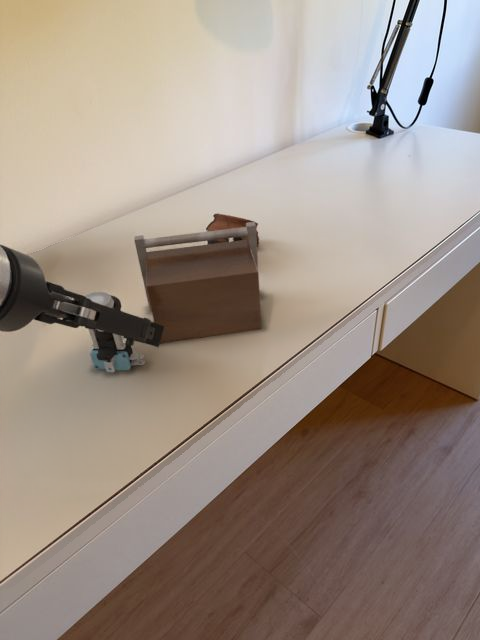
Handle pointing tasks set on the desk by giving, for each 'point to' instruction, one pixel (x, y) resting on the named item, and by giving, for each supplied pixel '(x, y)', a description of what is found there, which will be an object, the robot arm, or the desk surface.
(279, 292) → the desk surface
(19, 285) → the robot arm
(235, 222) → the pottery mug
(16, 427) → the desk surface
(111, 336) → the push button
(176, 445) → the desk surface
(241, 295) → the box
